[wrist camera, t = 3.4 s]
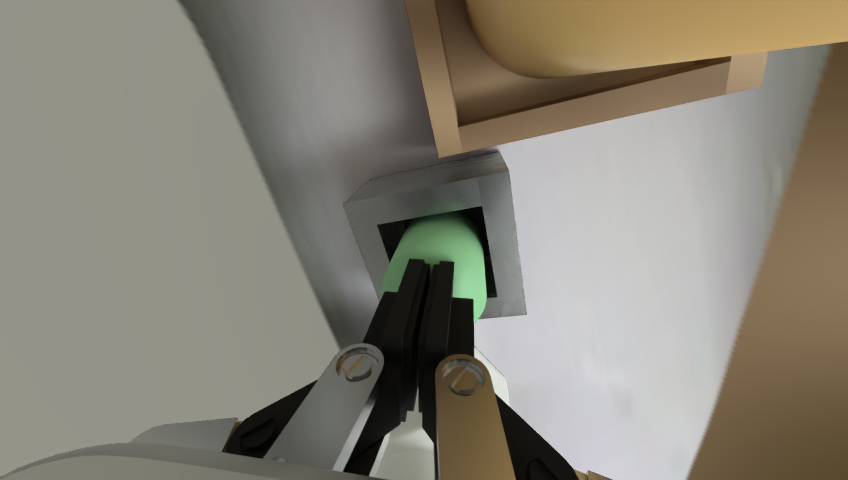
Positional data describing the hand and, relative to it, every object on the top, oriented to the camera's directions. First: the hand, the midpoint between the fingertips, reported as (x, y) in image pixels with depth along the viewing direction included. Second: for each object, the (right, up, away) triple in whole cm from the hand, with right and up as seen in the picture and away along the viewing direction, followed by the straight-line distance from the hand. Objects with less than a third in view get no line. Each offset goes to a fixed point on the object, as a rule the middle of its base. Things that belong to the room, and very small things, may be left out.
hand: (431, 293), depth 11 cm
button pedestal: (+1, +3, +6) cm, 7 cm away
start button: (+1, +2, +4) cm, 4 cm away
